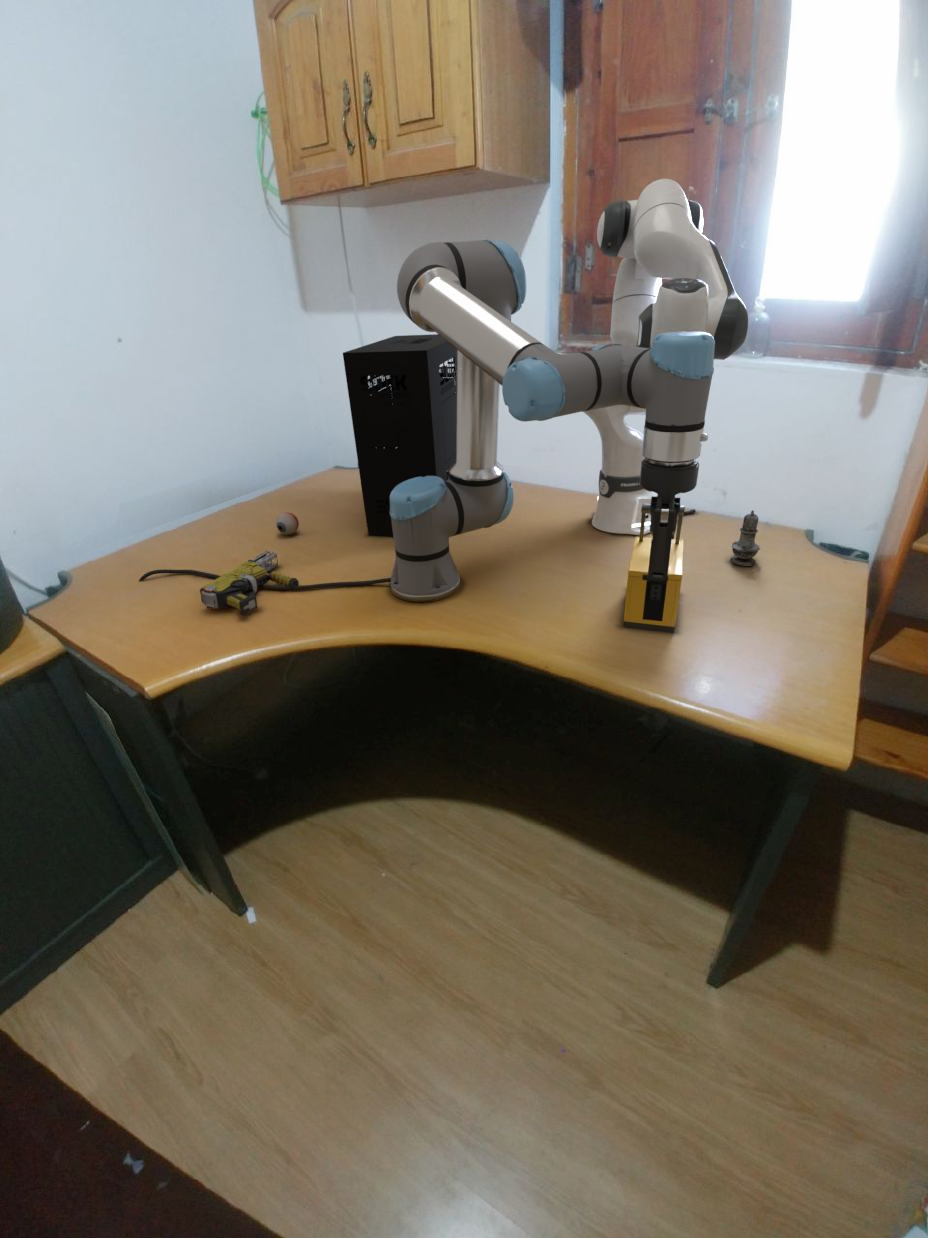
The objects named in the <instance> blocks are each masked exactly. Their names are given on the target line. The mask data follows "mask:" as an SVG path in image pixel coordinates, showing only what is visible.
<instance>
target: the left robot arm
mask: <svg viewBox="0 0 928 1238" xmlns="http://www.w3.org/2000/svg"><path fill="white" fill-rule="evenodd" d="M396 294H397V298H398V302H399V305H400V307H401V309H402V312H404V314H405V316H406V317H407V318H408V319H409V320H410V321H411V322H412V323H413V324H414V325H416V326H417V327H418V328H419V329H421V330H422V331H424V332H428V333H436V334H439V335H440V336H441V337H442V338H444V339H445V340H446V341H447V342H449V343H450V344H451V345H452V346H453V347H455V348H456V392H455V393H456V460H455V461H454V462H453V463H452V464H451V465H450V466H449V479H448V481H444V480H443V479H442V478H440V477H437V476H425V477H416V478H412V479H409V480H406V481H404V482H402V483H400V484H398V485H397V486H396V487H395V488H394V489H393V490H392V492H391V494H390V516H391V521H392V529H393V536H392V537H393V544H394V545H393V546H394V551H395V559H394V562H393V568H392V572H391V577H385V578H379V579H371V580H358V581H336V582H335V581H334V582H325V583H314V584H305V585H299V586H294V588H290V587H288V586H284V585H272V584H271V585H270V584H263V585H259V586H258V587H257V589H262V590H270V591H303V590H304V591H305V590H315V589H323V588H334V587H335V588H336V587H353V586H354V587H355V586H370V585H377V584H385V583H390V589H391V593H392V594H393V595H394V596H395V597H397V598H399V599H401V600H403V601H406V602H413V603H427V602H429V603H430V602H435V601H439V600H442V599H445V598H448V597H451V596H452V595H454V594H455V593H456V592H457V591H458V590H459V588H460V586H461V578H460V574H459V571H460V568H459V570H458V568H457V566H456V563H455V561H454V559H453V556H452V554H451V551H450V550H451V549H450V538H452V537H455V536H459V535H462V534H466V533H469V532H473V531H477V530H480V529H487V528H491V527H493V526H495V525H498V524H499V523H500V524H501V523H502V522H503V521H505V520H506V519H507V518H508V517H509V515H510V513H511V511H512V509H513V504H514V497H515V496H514V488H513V486H512V480H511V479H510V477H509V475H508V474H507V473H506V472H505V471H504V467H503V465H502V464H501V463H500V462H499V461H498V442H499V441H498V440H499V439H498V438H499V416H500V414H499V413H500V395H501V394H500V393H502V398H503V402H504V405H505V406H507V407H508V413H509V414H510V416H512V417H513V418H514V419H516V420H517V421H520V422H532V421H533V422H534V421H537V422H543V421H547V420H551V419H553V418H559V417H563V416H568V415H572V414H577V413H582V412H583V411H589V410H594V409H599V408H605V407H610V406H615V405H627V406H633V407H639V408H644V409H646V415H645V418H644V425H643V433H642V434H643V446H642V455H643V456H644V457H645V458H644V460H643V461H642V462H641V472H640V486H641V487H642V488H643V489H645V490H647V491H650V492H652V491H653V492H655V493H657V497H653V496H652V498H651V505H650V515H651V522H650V532H649V534H651V536H652V537H651V538H652V541H651V551H650V560H649V569H648V574H647V575H643V576H642V580H647V582H646V592H645V601H644V611H643V619H644V620H653V621H662V619H663V611H664V603H665V595H666V587H667V581H668V567H669V558H670V549H671V540H672V539H675V535H676V534H675V533H676V532H677V524H678V518H679V512H680V505H681V497H676V496H677V495H678V494H685V493H686V494H687V493H689V492H691V491H692V490H693V491H694V489H695V488H696V487H697V484H698V477H699V470H700V462H699V460H698V459H699V458H700V457H701V453H702V445H703V444H702V443H703V442H708V440H709V435H708V434H707V433H704V431H705V429H704V428H705V423H706V413H707V407H708V402H709V397H710V390H711V384H712V379H713V376H714V371H715V367H714V362H715V361H714V360H715V359H714V349H715V340H714V338H713V336H712V335H711V334H709V333H706V332H668V333H662V334H658V335H657V336H656V337H655V338H654V339H653V343H652V348H641V347H631V346H622V345H621V344H613V343H611V344H600V345H596V346H594V347H593V348H592V349H590V350H587V351H578V352H571V353H563V354H562V353H559V352H556V351H554V350H553V349H552V348H550V347H549V346H547V345H546V344H544V343H542V342H541V341H539V340H538V339H537V338H536V337H534V336H533V335H531V334H530V333H528V332H527V331H525V330H524V329H522V328H521V327H520V326H518V325H517V324H516V323H514V322H512V315H514V314H516V313H518V312H519V311H520V310H521V309H522V306H523V304H524V303H525V300H526V296H527V276H526V271H525V267H524V263H523V260H522V259H521V258H520V256H519V254H518V251H517V250H516V249H515V248H514V247H513V246H512V244H510V243H508V242H506V241H501V240H491V239H490V240H489V239H479V240H464V241H463V240H462V241H449V242H448V241H447V242H445V241H444V242H442V241H436V242H435V241H434V242H430V243H426V244H423V245H420V246H419V247H417V248H415V249H414V250H413V251H412V252H411V253H410V254H409V255H408V256H407V257H406V258H405V260H404V261H403V263H402V264H401V267H400V269H399V272H398V275H397V281H396ZM501 390H502V391H501ZM583 413H584V412H583ZM458 562H460V561H459V559H458ZM157 574H160V575H161V574H178V575H179V574H188V575H189V574H190V575H195V576H196V575H197V576H202V577H206V578H212V579H214V580H215V579H217V578H219V577H221V576H222V575H218V574H216V573H210V572H205V571H200V570H195V569H167V568H166V569H154V570H151V571H148V572H146V573H144V574H143V575H142V576H141V577H140V578H139V579H138V582H143V581H145V580H146V579H147V578H148V577H151V576H154V575H157Z"/></svg>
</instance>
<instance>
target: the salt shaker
mask: <svg viewBox="0 0 928 1238" xmlns="http://www.w3.org/2000/svg"><path fill="white" fill-rule="evenodd" d="M758 523H759V516H758V515H757V514H755V511H754V509H752V510H751V511H750V513H747V514H746V515H744V517H743V522H742V527H740V528H739V531H740V535H739V539H738V541H734V542H732V543H731V548H732V549H731V550H732V553H733V555H734V556H731V557H730V559H729V561H730V563H732V564H735V565H738V566H741V567H750V566H753V565H755V564H756V563H757V562H756V559H754V557H756V555H757V554H758V552H759V551H760V550H761V546H760V545H759V544H757V543H756V536H757V533H758V532H759V530H758V529H757V528H758Z"/></svg>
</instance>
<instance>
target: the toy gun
mask: <svg viewBox="0 0 928 1238" xmlns="http://www.w3.org/2000/svg"><path fill="white" fill-rule="evenodd" d="M274 559H276V562H275V563H274V562H273V560H274ZM278 566H279V560H278V553H277V552H275V551H270V550H265V551H264V552H262V553H260V554H258V555H257V556H255V557H254V558H252V559H248V560H247V561H245V562H243V563H242V564H239V565H238V566H236V567H235V568H232V569H231V570H229V571H228V572H226V573H224V574H223V575H220V576H221V577H219V578H217V579H215V578H214V580H211V581H210V582H208V583H207V584H204V585H203V586H201V587H200V588H199V593H200V599H201V603H202V604H203V606H205V607H206V609H210V610H215V609H217V610H218V609H219V610H221V609H227V608H230V607H233V608H236V609H237V610H239V611H240V616H246V615H247V614H250V613H251V612H253V611H255V610H257V609H258V601H257V600H258V599H257V595H256V593H257V592H258V588H257V587H258V586H259V585H266V584H267V583H268V582H273V583H276V584H279V585H280V586H288V587H290V588H294V586H300V583H299V582H300V581H299V579H298V578H296V577H290V576H289V575H286V574H283V573H281V572H278V571H272V570H273V569H274V568H276V567H278ZM269 571H271V573H270V574H269V573H268V572H269Z"/></svg>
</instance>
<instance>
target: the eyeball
mask: <svg viewBox="0 0 928 1238" xmlns="http://www.w3.org/2000/svg"><path fill="white" fill-rule="evenodd" d="M299 525H300V522H299V519H298V517H297V516H296V515H295V514H294V513H292V512H287V511H286V512H282V513H280V514H279V515H278V516H277V517H276V520H275V527H276V529H277V530H278V531H279V532H280V533H281V534H282V535H285V536H286V535H287V536H289V535H293V534H295V533H296V532H297V531H298V529H299Z"/></svg>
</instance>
